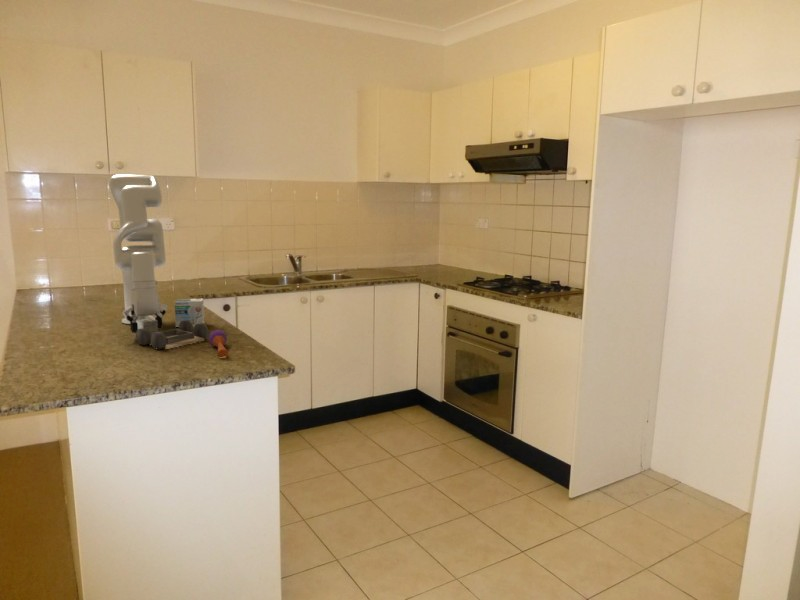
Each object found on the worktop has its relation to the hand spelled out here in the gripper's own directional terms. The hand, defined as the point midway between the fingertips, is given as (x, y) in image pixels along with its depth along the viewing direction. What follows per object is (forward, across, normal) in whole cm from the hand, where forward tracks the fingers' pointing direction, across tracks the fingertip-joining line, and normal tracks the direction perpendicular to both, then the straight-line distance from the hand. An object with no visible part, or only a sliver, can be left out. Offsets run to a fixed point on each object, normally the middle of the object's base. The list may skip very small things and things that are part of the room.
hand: (147, 330), depth 215 cm
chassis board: (+2, 0, +16) cm, 16 cm away
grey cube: (+2, 0, 0) cm, 2 cm away
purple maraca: (+3, -3, +39) cm, 39 cm away
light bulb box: (+2, -20, -2) cm, 20 cm away
